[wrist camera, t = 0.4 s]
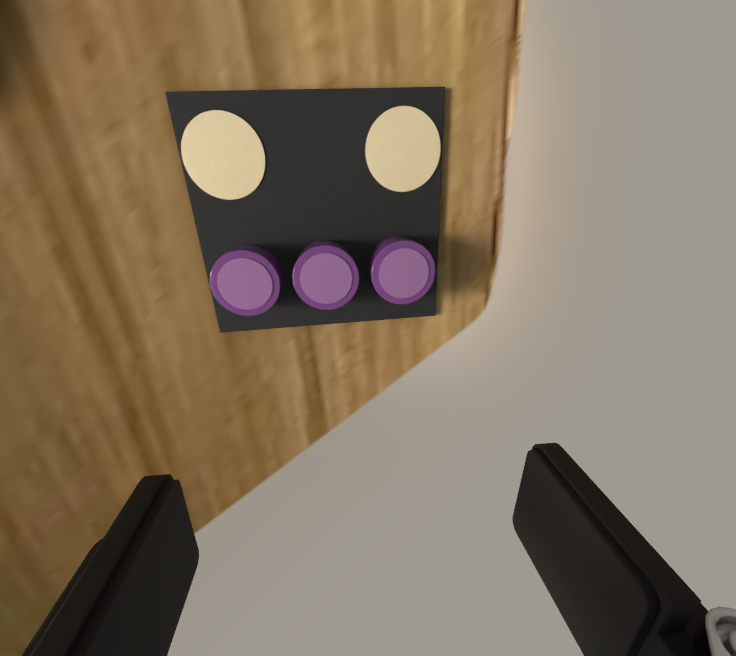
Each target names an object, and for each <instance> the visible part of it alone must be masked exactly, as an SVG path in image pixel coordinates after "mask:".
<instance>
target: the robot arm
mask: <svg viewBox="0 0 736 656" xmlns="http://www.w3.org/2000/svg"><path fill="white" fill-rule="evenodd" d="M513 525H514V529H515V531H516V533H517V535H518V537H519V539H520V540H521V542H522V544H523V546H524V547H525V549H526V551H527V553H528V555H529V557H530V558H531V560H532V562H533V564H534V566H535V567H536V569H537V571H538V573H539V575H540V577H541V578H542V580H543V582H544V583H545V586H546V588H547V589H548V591H549V593H550V594H551V597H552V598H553V600H554V602H555V604H556V606H557V607H558V609H559V611H560V613H561V614H562V617H563V618H564V620H565V622H566V624H567V625H568V627H569V629H570V631H571V633H572V635H573V636H574V638H575V640H576V642H577V644H578V645H579V647H580V649H581V651H582V652H583V654H584V656H736V610H735V609H732V608H725V607H717V608H713V609H710V611H709V612H708V611H707V609H706V608H705V607H704V606H703V605H702V604H701V603H700V602H701V600H700V599H699V598H698V597H697V596H696V594H695V593H694V592H693V591H692V590H691V589H690V588H689V587H688V586H687V585H686V583H685V582H684V581H683V580H682V579H681V578H680V577H679V576H678V575H677V574H676V572H675V571H674V570H673V569H672V568H671V567H670V566H669V565H668V564H667V563H666V561H665V560H664V559H663V558H662V557H661V556H660V555H659V554H658V553H657V552H656V550H655V549H654V548H653V547H652V546H651V545H650V544H649V543H648V542H647V541H646V540H645V538H644V537H643V536H642V535H641V534H640V533H639V532H638V531H637V530H636V528H635V527H634V526H633V525H632V524H631V523H630V522H629V521H628V520H627V519H626V518H625V516H624V515H623V514H622V513H621V512H620V511H619V510H618V509H617V508H616V506H615V505H614V504H613V503H612V502H611V501H610V500H609V499H608V498H607V496H605V494H604V493H603V492H602V491H601V490H600V489H599V488H598V487H597V486H596V484H595V483H594V482H593V481H592V480H591V479H590V478H589V477H588V476H587V474H586V473H585V472H584V471H583V470H582V469H581V468H580V467H579V466H578V465H577V463H576V462H575V461H574V460H573V459H572V458H571V457H570V456H569V455H568V454H567V452H566V451H565V450H564V449H563V448H562V447H561V446H560V445H559V444H557V443H546V444H535V445H534V446H533V448H532V450H530V451H528V453H527V457H526V461H525V466H524V470H523V474H522V479H521V483H520V488H519V492H518V497H517V501H516V505H515V509H514V514H513ZM198 559H199V550H198V546H197V543H196V539H195V535H194V532H193V528H192V524H191V521H190V517H189V513H188V510H187V506H186V502H185V499H184V495H183V492H182V488H181V484H180V482H179V480H174V479H173V477H172V476H171V475H170V474H167V475H154V476H145V477H143V478H142V479H141V480H140V482H139V483H138V485H137V486H136V488H135V489H134V491H133V493H132V494H131V496H130V497H129V499H128V500H127V502H126V504H125V505H124V507H123V508H122V510H121V511H120V513H119V515H118V516H117V518H116V519H115V521H114V523H113V524H112V526H111V527H110V529H109V530H108V532H107V534H106V535H105V537H104V538H103V539H101V540H100V541H98V542H97V543H96V544H95V545H94V546H93V547H92V549H91V550H90V551H89V553H88V554H87V556H86V557H85V559H84V560H83V562H82V563H81V565H80V567H79V568H78V570H77V571H76V573H75V574H74V576H73V577H72V579H71V580H70V582H69V583H68V585H67V587H66V588H65V590H64V591H63V593H62V594H61V596H60V597H59V599H58V600H57V602H56V603H55V605H54V607H53V608H52V610H51V611H50V613H49V614H48V616H47V617H46V619H45V620H44V622H43V623H42V625H41V627H40V628H39V630H38V631H37V633H36V634H35V636H34V637H33V639H32V640H31V642H30V643H29V645H28V647H27V648H26V650H25V651H24V653H23V654H22V656H167V654H168V651H169V648H170V644H171V642H172V639H173V636H174V633H175V630H176V627H177V624H178V621H179V618H180V615H181V612H182V609H183V607H184V604H185V600H186V598H187V595H188V592H189V589H190V586H191V583H192V580H193V577H194V574H195V571H196V568H197V565H198Z"/></svg>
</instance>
